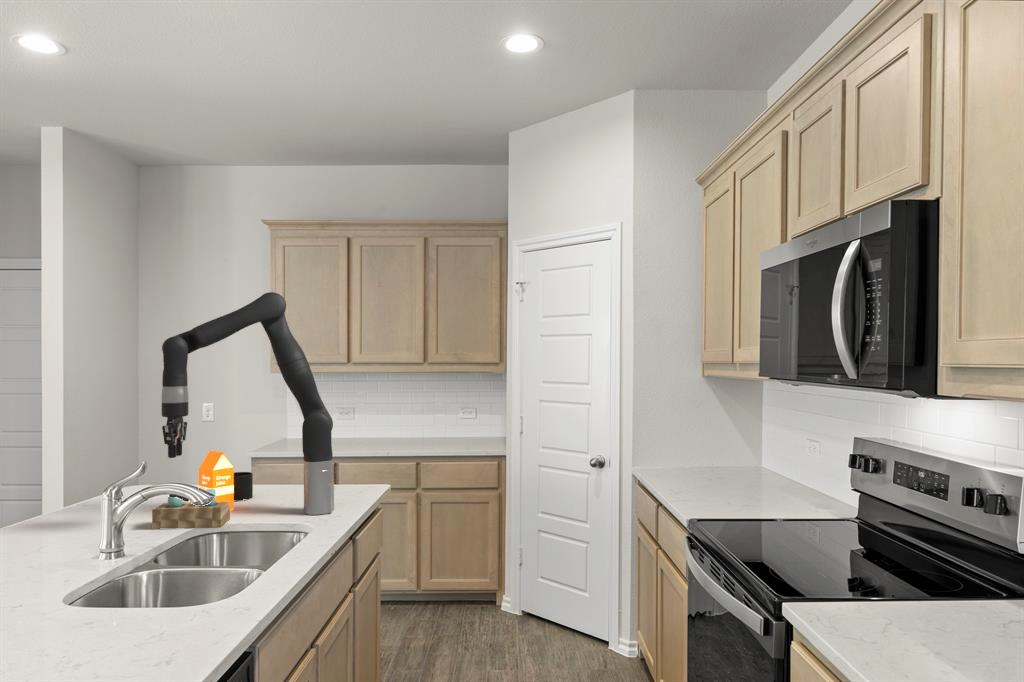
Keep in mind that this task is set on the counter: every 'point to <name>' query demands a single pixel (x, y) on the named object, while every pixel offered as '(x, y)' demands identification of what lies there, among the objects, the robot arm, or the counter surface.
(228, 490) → the orange juice
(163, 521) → the oak block
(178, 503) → the peg
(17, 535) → the counter surface
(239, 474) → the black cylinder
